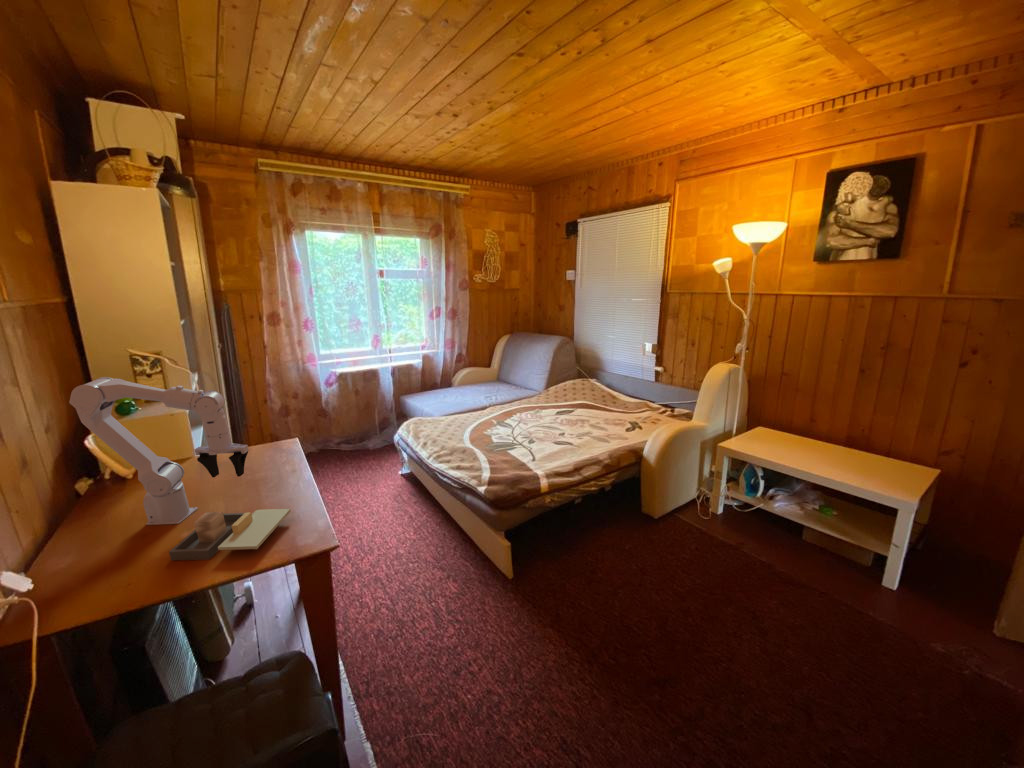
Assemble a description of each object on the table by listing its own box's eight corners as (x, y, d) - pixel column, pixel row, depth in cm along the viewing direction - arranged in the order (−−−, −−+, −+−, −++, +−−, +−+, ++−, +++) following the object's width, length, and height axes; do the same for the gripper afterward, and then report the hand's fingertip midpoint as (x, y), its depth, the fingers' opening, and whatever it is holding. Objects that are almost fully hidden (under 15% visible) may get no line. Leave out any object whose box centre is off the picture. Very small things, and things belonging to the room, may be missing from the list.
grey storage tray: (171, 560, 105) (168, 551, 104) (216, 521, 121) (214, 513, 120) (209, 559, 105) (207, 550, 104) (249, 520, 121) (247, 512, 120)
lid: (218, 550, 104) (215, 538, 103) (257, 512, 120) (255, 501, 119) (257, 548, 104) (254, 537, 103) (290, 511, 120) (288, 500, 119)
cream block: (199, 542, 111) (193, 522, 109) (210, 531, 115) (205, 512, 113) (216, 541, 111) (211, 521, 109) (227, 531, 115) (222, 512, 113)
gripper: (182, 439, 118) (194, 482, 122) (233, 437, 118) (243, 481, 121) (200, 430, 125) (211, 471, 128) (248, 428, 124) (258, 469, 128)
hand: (228, 475), depth 125 cm, fingers open, 7 cm apart
